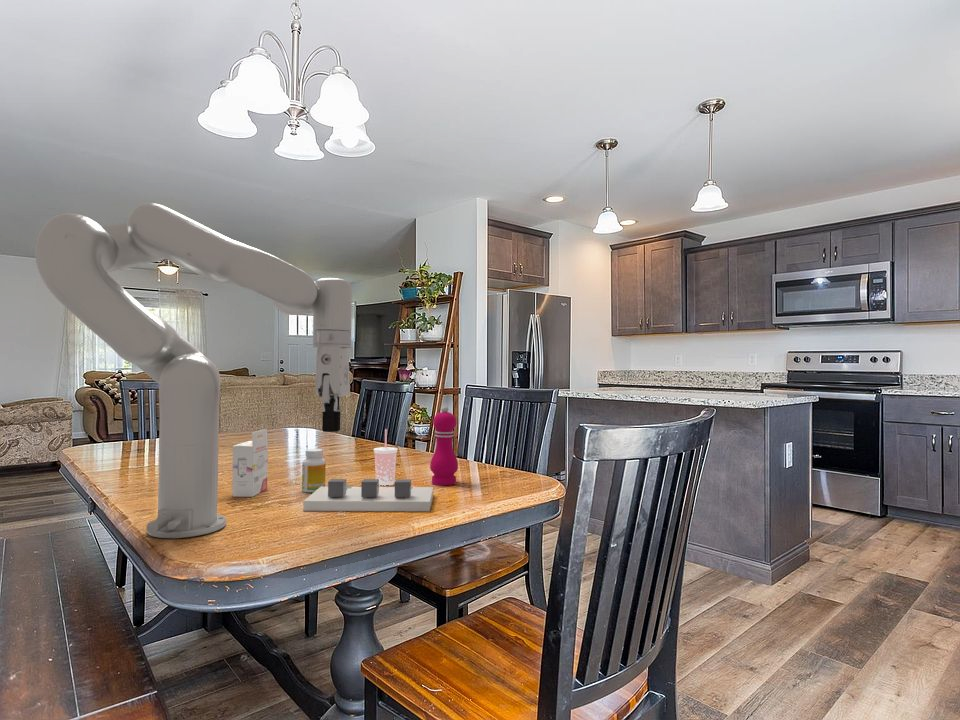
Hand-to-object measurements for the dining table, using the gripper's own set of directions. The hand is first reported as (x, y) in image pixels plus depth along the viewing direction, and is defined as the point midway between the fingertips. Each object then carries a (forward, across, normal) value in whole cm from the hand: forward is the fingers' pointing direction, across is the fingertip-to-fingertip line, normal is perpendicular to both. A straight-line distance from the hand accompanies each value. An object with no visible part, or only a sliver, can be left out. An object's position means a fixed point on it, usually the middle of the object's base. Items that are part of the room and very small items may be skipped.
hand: (331, 431), depth 110 cm
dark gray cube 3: (+15, +7, -14) cm, 21 cm away
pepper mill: (+17, +31, -22) cm, 41 cm away
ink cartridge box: (+17, +19, +23) cm, 34 cm away
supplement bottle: (+17, +22, +9) cm, 29 cm away
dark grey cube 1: (+14, +7, 0) cm, 16 cm away
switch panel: (+17, +10, -7) cm, 21 cm away
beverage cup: (+17, +30, -7) cm, 35 cm away
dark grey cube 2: (+14, +7, -7) cm, 17 cm away
